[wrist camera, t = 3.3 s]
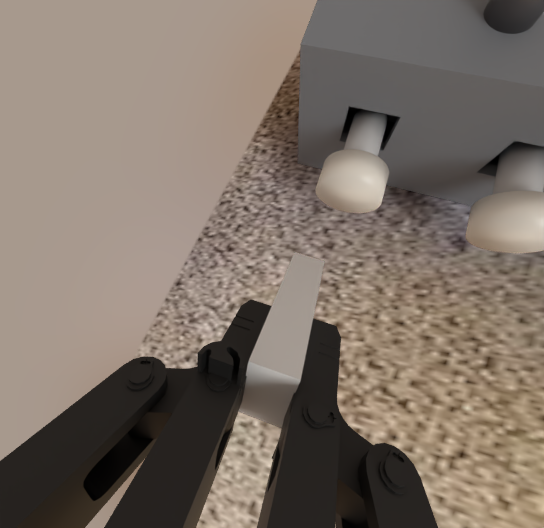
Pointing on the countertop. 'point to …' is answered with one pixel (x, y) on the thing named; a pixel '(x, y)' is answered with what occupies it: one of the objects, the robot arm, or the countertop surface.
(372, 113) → the knob
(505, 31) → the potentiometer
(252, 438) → the countertop surface
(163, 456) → the robot arm
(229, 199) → the countertop surface
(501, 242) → the knob
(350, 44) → the block
